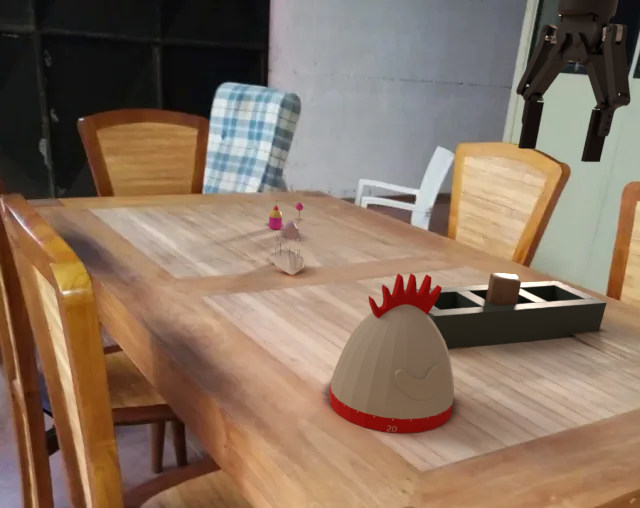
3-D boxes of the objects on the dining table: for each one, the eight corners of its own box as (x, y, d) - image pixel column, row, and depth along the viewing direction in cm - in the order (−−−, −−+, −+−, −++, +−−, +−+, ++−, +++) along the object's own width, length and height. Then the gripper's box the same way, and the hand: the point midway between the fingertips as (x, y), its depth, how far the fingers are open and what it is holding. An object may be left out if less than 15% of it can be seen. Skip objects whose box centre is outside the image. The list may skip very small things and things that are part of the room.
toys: (308, 240, 148) (310, 210, 145) (270, 238, 147) (271, 208, 144) (302, 221, 163) (303, 194, 161) (267, 220, 162) (268, 192, 160)
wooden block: (483, 331, 105) (493, 278, 101) (481, 323, 108) (490, 271, 104) (510, 334, 104) (521, 281, 101) (507, 325, 108) (517, 274, 104)
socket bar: (598, 334, 107) (607, 302, 105) (429, 351, 96) (434, 316, 94) (549, 310, 116) (556, 280, 114) (390, 322, 105) (394, 290, 103)
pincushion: (309, 278, 123) (311, 245, 120) (274, 277, 122) (275, 244, 119) (297, 259, 133) (299, 229, 131) (265, 259, 132) (266, 228, 130)
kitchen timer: (474, 425, 77) (500, 292, 70) (359, 439, 73) (374, 298, 66) (415, 374, 89) (432, 255, 82) (312, 384, 84) (321, 258, 77)
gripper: (509, -16, 101) (484, 143, 111) (644, -27, 81) (599, 167, 91) (550, -11, 104) (522, 144, 114) (690, -20, 84) (642, 167, 94)
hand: (556, 155), depth 102 cm, fingers open, 13 cm apart
